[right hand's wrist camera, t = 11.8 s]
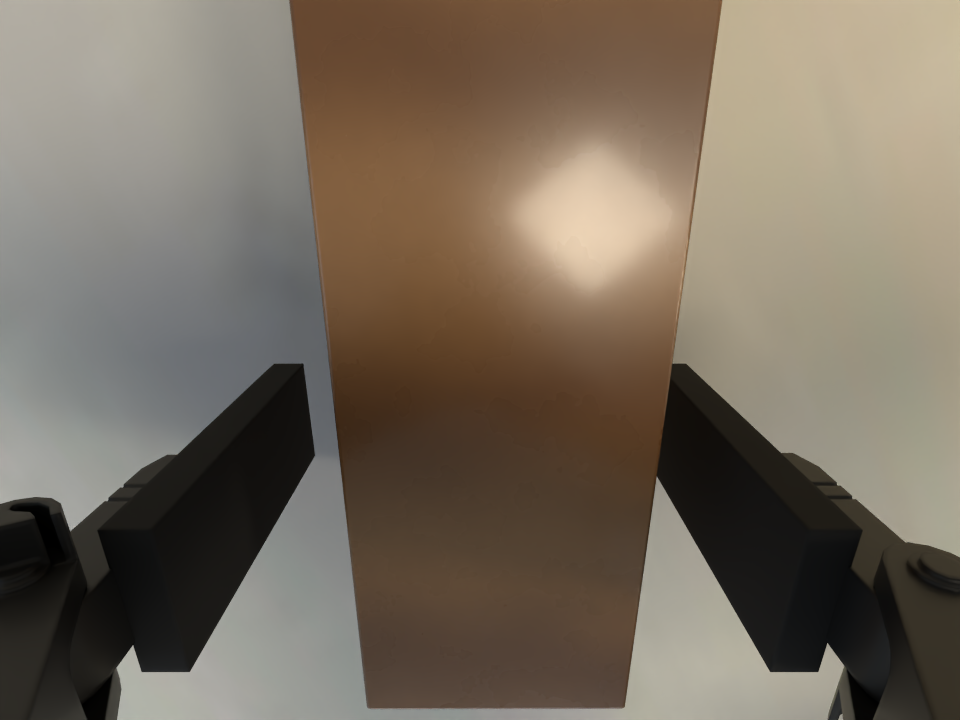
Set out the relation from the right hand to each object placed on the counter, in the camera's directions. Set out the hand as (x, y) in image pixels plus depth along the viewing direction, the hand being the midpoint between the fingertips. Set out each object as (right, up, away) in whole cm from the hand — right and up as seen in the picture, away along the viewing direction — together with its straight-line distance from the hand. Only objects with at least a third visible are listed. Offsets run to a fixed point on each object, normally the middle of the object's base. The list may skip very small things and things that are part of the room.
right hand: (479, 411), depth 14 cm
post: (0, +23, -5) cm, 24 cm away
